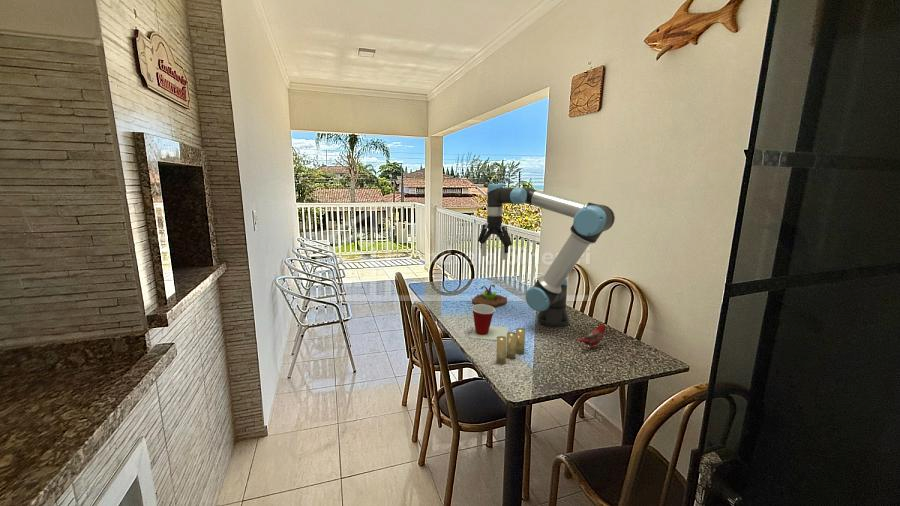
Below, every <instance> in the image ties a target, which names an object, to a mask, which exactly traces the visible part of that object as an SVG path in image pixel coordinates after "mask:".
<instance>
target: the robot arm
mask: <svg viewBox="0 0 900 506" xmlns="http://www.w3.org/2000/svg"><path fill="white" fill-rule="evenodd" d="M486 195H487V197H486V198H487V199H486V201H487V203H486V204H487V206H486V215H487V216H486V223H484V224H482V228H481V231H480V233H479V236H478V239H477V242H479V243H480V250H481V256H482V257H486V256H487V241H488V239H489V237H490V236H492V235H494V236H495V235H496V236H497V237H498V238H499V240H500V242H501V243H502V245H503V246H502V250H501V251H502V259H501V261H502V260H503V261H505V260H507V259H508V254H509V247H511V246H513V243H512V240H511V237H510V235H509V231H508V226H507V225H503V216H502V215H503V205H504V204H510V205H511V204H512V205H522V204H527V205H530V206H533V207H534V206H535V207H538V208H540V209H544V210H547V211H550V212H553V213H558V214H561V215H563V216H566V217H568V218H569V217H570V218H573V224H572V225H571V226H570V229H569V230H570V235H569V236H568V238H567V239H566V241H565V243H564V244H563V246H562V247H561V249H560V250H559V252H558V253H557V255H556V256H555V258H554V260H553V262H552V263H551V265H550V266H549V267H548V269H547V271H546V273H544V275H541V276H539V277H538V278H537V280H536V281H535V283H534V285H533V286H531V287H529V288H528V289H527V290H526V293H525V300H526V304H527V305H528V307H530V309H532V310H533V311H536V312H538V314H537V323H538V324H540V325H542V326H545V327H551V328H565V327H568V325H569V323H570V318H569V315H568V311H567V294H568V280H567V278H568V276H569V275H570V273H571V272H572V270H573V269H574V267H575V266H576V265H577V263H578V262H579V260H580V259H581V258H582V256H583V255H584V253H585V251H586V250H587V249H588V247H589V246H590V245H592V244H596V242H597V241H598V239H599V238H600V236H601V235H602V234H603V232H606V231H608V230H609V229H611V228H612V227H613V225H614V223H615V219H616V217H615V213H614V211H613V210H612V208H610V206H608V205H605V204H598V203H593V202H590V201H589V202H586V203H584V202H582V201H581V202H580V201H577V200H573V199H569V198H566V197H562V196H559V195H555V194H552V193H548V192H545V191H541V190H537V189H535V188H533V187H529V186H527V187H504V186H503V183H489V184H488V185H487V191H486Z"/></svg>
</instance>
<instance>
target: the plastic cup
mask: <svg viewBox="0 0 900 506" xmlns="http://www.w3.org/2000/svg"><path fill="white" fill-rule="evenodd" d="M471 310H472V315H473V322H474V327H475V331H476V333H477V334H480V335H485V334H488V332H489V327H490V326H491V323H492V319H493V315H494V314H495V312H496V308H494V307H492V306H489V305H485V304H477V305H472V306H471Z"/></svg>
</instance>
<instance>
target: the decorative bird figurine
mask: <svg viewBox="0 0 900 506" xmlns="http://www.w3.org/2000/svg"><path fill="white" fill-rule="evenodd" d="M606 329H607V327H606V325H605V324H604V323H601V324H599V325H598V326H597V327H596V328H595V329H594V330H592V331H591V332H590V333H588V334H586V335H585V336H584V338H577V339H575V341H577V342H578V341H579V342H582V343H583V344H585V345H587V346H590V350H592V349H596V348H598V344H599V343H601V341H602V339H603V337H604V335H605V331H606Z"/></svg>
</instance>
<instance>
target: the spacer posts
mask: <svg viewBox="0 0 900 506" xmlns="http://www.w3.org/2000/svg"><path fill="white" fill-rule="evenodd" d="M525 340H526V329H525V328H523V327H518V328H517V327H516V329H515V332H514V331H508V333H507V338H506V337H504V336H498V337H497V341H496V364H498V365H505V364H506V363H507V359H508V360H515V359H516V355H519V356H521V355H525V347H526V346H525V345H526V344H525V343H526V341H525Z"/></svg>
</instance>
